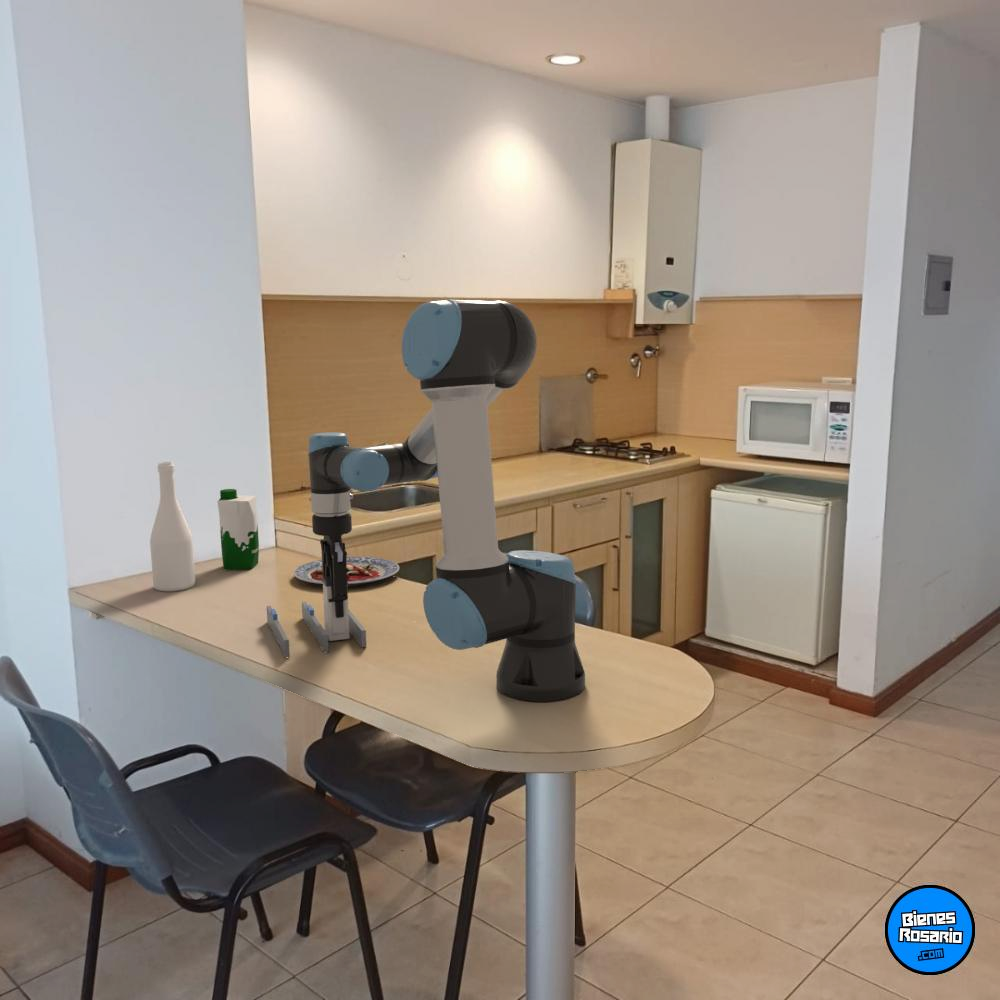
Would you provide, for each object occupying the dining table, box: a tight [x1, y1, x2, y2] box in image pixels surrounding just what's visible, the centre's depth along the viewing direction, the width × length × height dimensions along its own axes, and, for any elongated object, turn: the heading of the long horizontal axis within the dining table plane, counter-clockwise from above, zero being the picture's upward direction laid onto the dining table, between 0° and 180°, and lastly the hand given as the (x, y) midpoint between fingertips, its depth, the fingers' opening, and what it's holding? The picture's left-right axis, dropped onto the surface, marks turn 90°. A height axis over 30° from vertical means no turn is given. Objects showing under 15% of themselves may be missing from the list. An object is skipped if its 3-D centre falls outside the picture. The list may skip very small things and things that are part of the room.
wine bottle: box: [149, 461, 196, 592], centre depth 227 cm, size 10×10×30 cm
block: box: [322, 576, 350, 642], centre depth 190 cm, size 4×4×12 cm
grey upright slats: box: [266, 601, 367, 658], centre depth 193 cm, size 24×15×4 cm, turn 21°
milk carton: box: [217, 488, 260, 571], centre depth 247 cm, size 9×9×20 cm
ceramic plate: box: [293, 556, 400, 586], centre depth 238 cm, size 26×26×3 cm
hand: (336, 628), depth 191 cm, fingers closed on block, 4 cm apart
